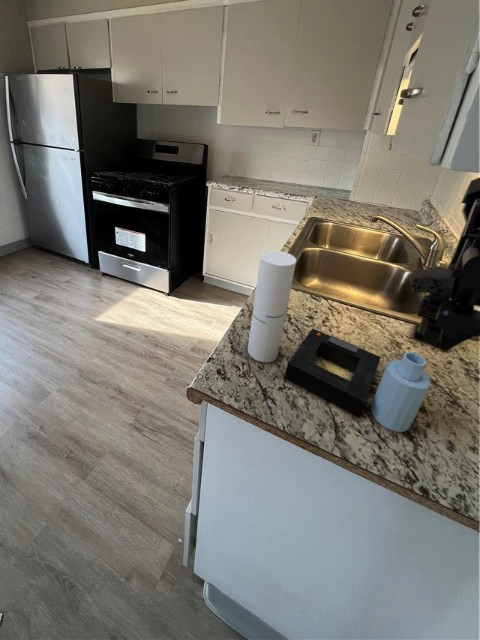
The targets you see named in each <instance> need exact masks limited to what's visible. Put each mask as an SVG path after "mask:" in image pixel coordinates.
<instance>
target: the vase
mask: <svg viewBox="0 0 480 640" xmlns="http://www.w3.org/2000/svg"><path fill="white" fill-rule="evenodd" d="M426 365H427V361H426V359H425V357H423V356H422V355H420V354H418V353H416V352H412V351H406V352H405V353H404V354H403V356H402V358H401V359H392V360H390V361H388V362H387V365H386V366H385V369H384V372H383V375H382V377H381V380H380V382H379V385H378V387H377V390H376V392H375V395H374V397H373V400H372V403H371V404H370V413H371V414H372V417H373V418H374V419H375V420H376V421H377V422H378V423H379V424H380V425H381V426H383V427H384V428H385V429H388V430H390V431H393V432H396V433H402V432H403V433H404V432H407V431H408V430H409V429H410V428H411V426H412V424H413V422H414V420H415V418H416V417H417V414H418V412H419V409H421V405H422V403H423V402H424V400H425V398H426V396H427V393H428V391H429V389H430V388H431V384H432V379H431V378H430V375H429V374H428V373H427V372H426V371H425V370H424V369H425V368H426Z"/></svg>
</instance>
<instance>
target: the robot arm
mask: <svg viewBox="0 0 480 640" xmlns="http://www.w3.org/2000/svg"><path fill="white" fill-rule="evenodd" d="M460 203H461V204H463V206H462V209H461V213H462V216H463V219H464V222H465V223H464V227H463V229H462V231H461V234H460V237H459V239H458V241H457V244H456V247H455V249H454V251H453V254H452V255H451V256H452V257H451V259H450V261H449V264H448V267H447V269H441V268H416V269H413V270H412V273H411V275H410V279H411V284H410V287H411V290H412V291H411V292H413V293H415V294H422V293H423V294H424V293H426V294H425V295H424V297H423V298H422V300H421V302H420V305H419V306H418V311H417V315H416V316H417V317H420V318H421V320H420V323H419V324H418V325H415V328H414V332H413V337H412V339H414V340H417V341H419V342H422V343H425V344H427V345H429V346H433V347H436V348H438V349H439V350H442V351H444V352H447V351H449V350H451V349H452V348H454V347H456V346H458V345H460V344H462V343H464V342H466V341H468V340H470V339H472V338H480V310H479V309H475V306H476V307H478V308H480V177H477V178H475V179H472V180H470V182H469V184H468V186H467V187H466V190H465V192H464V194H463V196H462V199H461V202H460ZM427 293H428V294H427Z"/></svg>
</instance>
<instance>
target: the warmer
mask: <svg viewBox="0 0 480 640" xmlns="http://www.w3.org/2000/svg"><path fill="white" fill-rule="evenodd" d="M318 358H321V359H323V360H325V361H328V362H329V363H332V364H334V365H336V366H338V367H340V368H343V369H345V370H347V371H349V372H351V373H352V377H351V379H350V380H349V379H347V378H345V377H343V376H341V375H339V374H337V373H334V372H332V371H330V370H328V369H326V368H324V367H322V366H320V365H318V364H316V363H315V362H316V361H317V359H318ZM380 361H381V356H380V355H377V354H375V353H373V352H370V351H368V350H365V349H363V348H361V347H359V345H356V344H353V343H351V342H348V341H346V340H345V339H341V338H340V337H336V336H335V335H331V334H330V335H329V334H327V333H325V332H322V331H320V330H317V329H316V328H313V327H312V328H311V330H310V331H309V333H308V334H307V336H306V337H305V338H304V339H303V341H302V342H301V344H300V345H299V347H298V348H297V349H296V351H295V352H294V353H293V355H292V356H291V358H290V359H289V361H288V362H287V365H286V370H285V374H284V379H285V380H287V381H289V382H291V384H294V385H296V386H298V387H300V388H301V389H304V390H305V391H307V392H309V393H311V394H313V395H315V396H317V397H318V398H321V399H322V400H324V401H326V402H328V403H329V404H332V405H333V406H335V407H337V408H339V409H341V410H342V411H344V412H346V413H349V414H350V415H352V416H354V417H357V418H358V419H359V418H360V417H361V415H362V411H363V409H364V406H365V404H366V402H367V399H368V395H369V394H370V393H369V392H370V390H371V386H372V383H373V381H374V378H375V375H376V373H377V369H378V367H379V364H380Z"/></svg>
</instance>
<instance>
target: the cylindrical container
mask: <svg viewBox="0 0 480 640" xmlns="http://www.w3.org/2000/svg"><path fill="white" fill-rule="evenodd" d="M296 264H297V258H296V257H295V256H294V255H293V254H291V253H288V252H285V251H281V250H265V251H263V252H262V253H260V259H259V264H258V265H259V267H258V273H257V279H256V287H255V294H254V299H253V300H254V301H253V307H252V315H251V322H250V329H249V336H248V345H247V352H248V353H247V354H248V355H249V356H250V357H251V358H252V359H254V360H255V361H258V362H260V363H272V362H274V361H276V360H277V359H278V356H279V352H280V348H281V347H280V346H281V341H282V336H283V331H284V325H285V322H286V317H287V310H288V305H289V301H290V296H291V295H290V294H291V290H292V285H293V280H294V276H295V275H294V274H295V270H296Z"/></svg>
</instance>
